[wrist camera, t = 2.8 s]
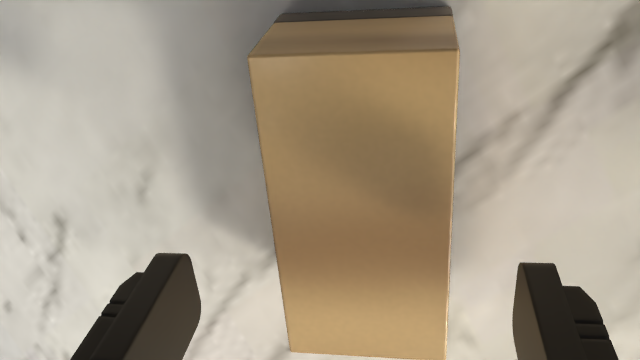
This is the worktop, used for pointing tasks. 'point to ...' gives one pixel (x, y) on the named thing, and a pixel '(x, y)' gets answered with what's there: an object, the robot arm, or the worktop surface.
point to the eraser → (361, 175)
